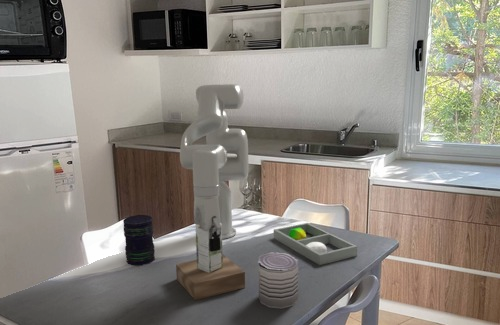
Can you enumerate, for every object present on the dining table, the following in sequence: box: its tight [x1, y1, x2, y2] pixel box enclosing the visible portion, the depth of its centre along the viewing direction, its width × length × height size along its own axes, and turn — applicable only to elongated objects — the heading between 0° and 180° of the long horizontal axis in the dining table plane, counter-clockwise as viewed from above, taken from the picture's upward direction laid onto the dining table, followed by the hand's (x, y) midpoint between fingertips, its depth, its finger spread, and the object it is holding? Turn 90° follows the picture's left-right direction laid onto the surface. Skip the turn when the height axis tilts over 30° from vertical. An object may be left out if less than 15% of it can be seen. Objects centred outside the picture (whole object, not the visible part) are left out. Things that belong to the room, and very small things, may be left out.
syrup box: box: [195, 223, 223, 273], centre depth 139 cm, size 6×6×14 cm
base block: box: [175, 253, 246, 301], centre depth 141 cm, size 16×16×5 cm
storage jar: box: [122, 214, 156, 267], centre depth 159 cm, size 10×10×15 cm
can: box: [257, 251, 299, 310], centre depth 130 cm, size 11×11×12 cm
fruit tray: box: [273, 222, 358, 266], centre depth 169 cm, size 30×16×4 cm, turn 28°
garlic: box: [306, 242, 328, 254], centre depth 163 cm, size 8×7×4 cm
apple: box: [289, 227, 307, 240], centre depth 172 cm, size 7×6×9 cm
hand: (208, 245), depth 139 cm, fingers open, 9 cm apart
